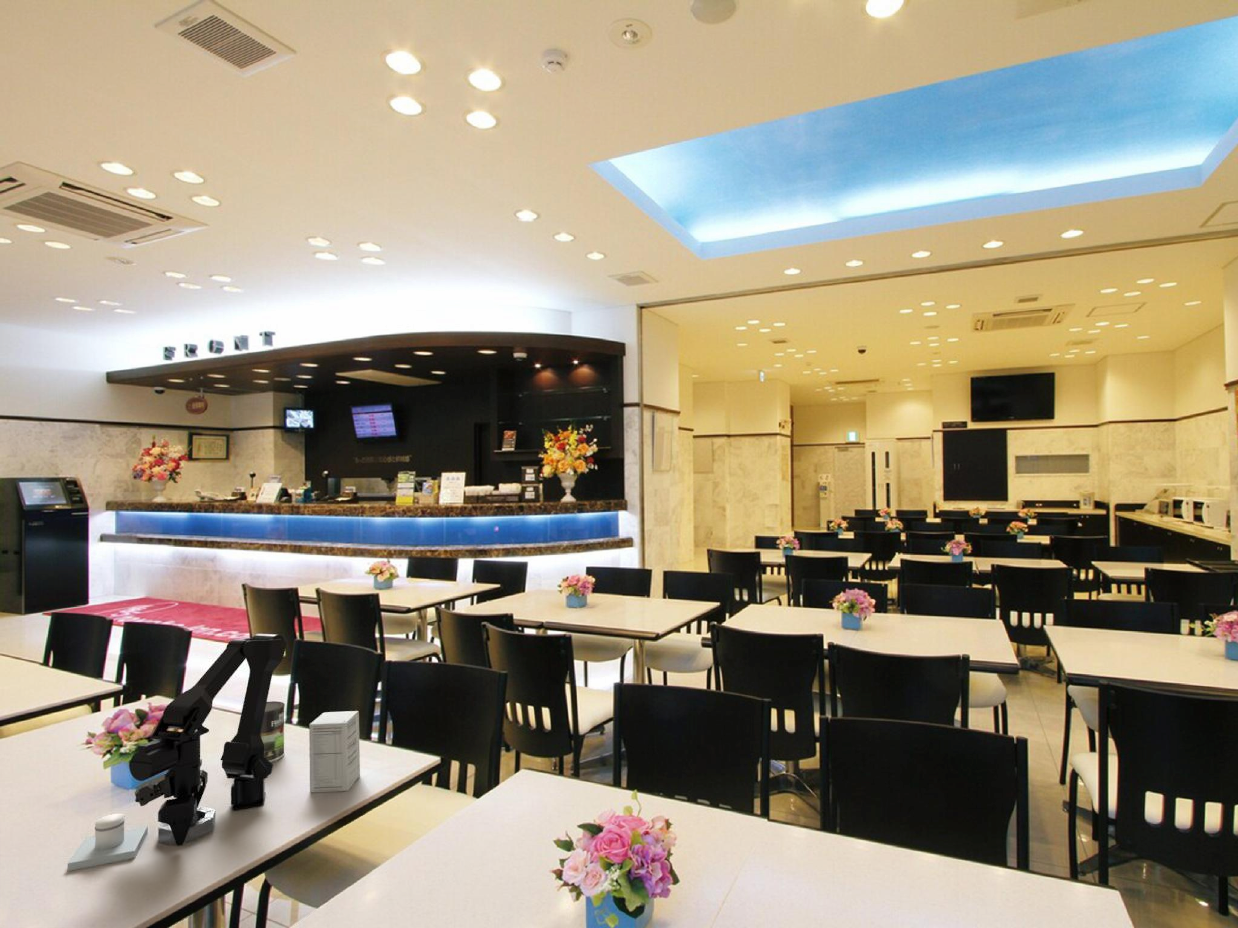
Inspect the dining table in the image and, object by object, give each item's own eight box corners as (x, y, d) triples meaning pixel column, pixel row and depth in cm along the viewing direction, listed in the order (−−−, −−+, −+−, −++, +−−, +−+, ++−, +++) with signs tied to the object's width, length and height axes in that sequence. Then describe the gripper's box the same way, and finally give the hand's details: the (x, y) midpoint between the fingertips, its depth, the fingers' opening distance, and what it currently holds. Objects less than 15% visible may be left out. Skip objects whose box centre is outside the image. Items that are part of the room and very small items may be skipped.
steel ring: (217, 817, 154) (217, 803, 154) (210, 837, 145) (210, 823, 145) (165, 826, 150) (165, 812, 150) (155, 848, 141) (155, 833, 141)
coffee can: (291, 750, 193) (291, 700, 194) (272, 765, 183) (272, 712, 183) (255, 750, 193) (255, 700, 194) (234, 765, 183) (234, 713, 183)
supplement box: (361, 775, 175) (360, 710, 176) (347, 791, 166) (347, 722, 167) (323, 776, 175) (323, 711, 175) (308, 792, 166) (308, 723, 166)
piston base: (147, 832, 147) (147, 802, 148) (134, 857, 137) (134, 825, 138) (85, 844, 143) (85, 813, 143) (67, 870, 133) (67, 837, 133)
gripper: (149, 751, 150) (149, 823, 149) (127, 785, 132) (126, 866, 132) (208, 743, 154) (207, 812, 154) (193, 774, 137) (193, 853, 136)
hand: (184, 834), depth 144 cm, fingers open, 9 cm apart
